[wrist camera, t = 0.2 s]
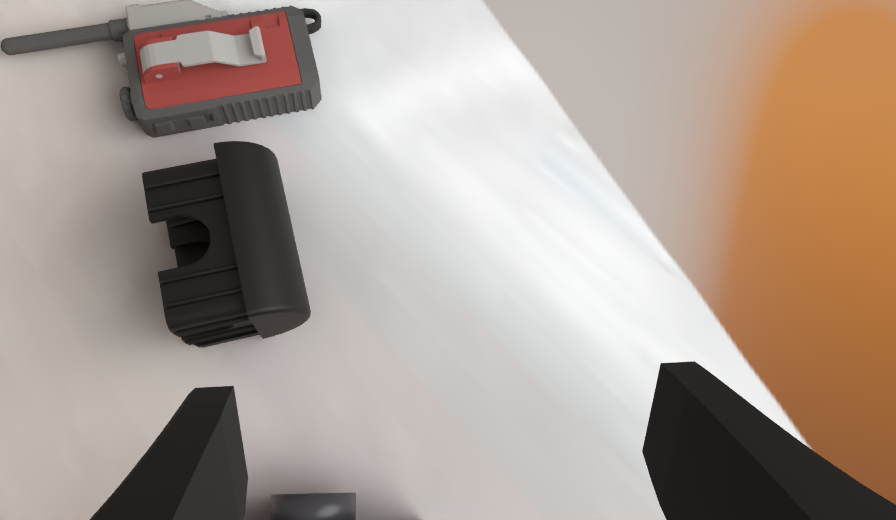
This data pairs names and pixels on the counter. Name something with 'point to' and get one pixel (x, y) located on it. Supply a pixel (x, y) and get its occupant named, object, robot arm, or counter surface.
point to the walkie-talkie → (202, 63)
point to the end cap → (228, 247)
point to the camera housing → (313, 506)
